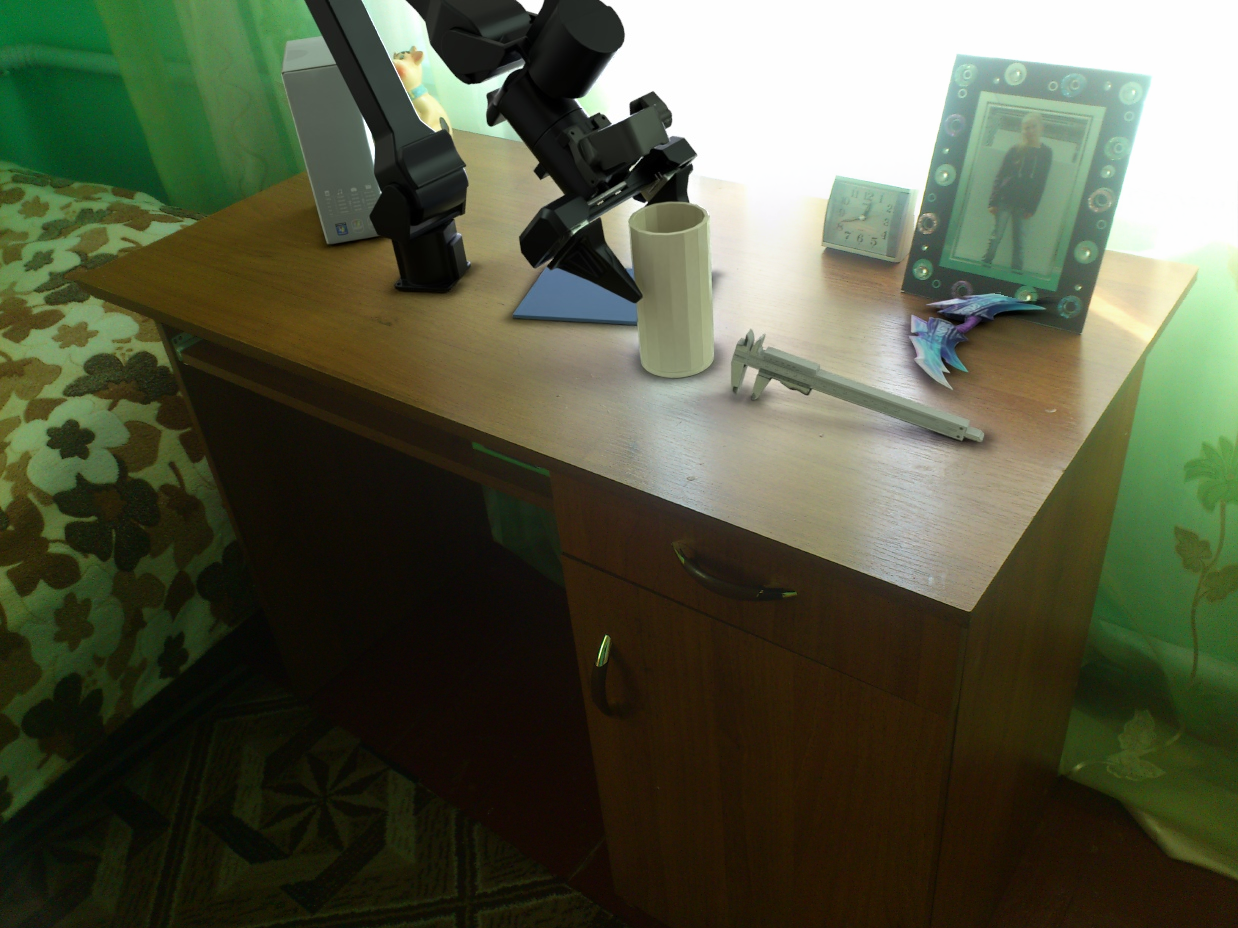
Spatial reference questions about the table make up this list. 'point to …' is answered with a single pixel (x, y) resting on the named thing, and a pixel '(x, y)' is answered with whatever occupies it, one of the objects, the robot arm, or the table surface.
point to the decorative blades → (955, 329)
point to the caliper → (837, 388)
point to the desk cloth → (574, 301)
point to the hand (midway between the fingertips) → (671, 278)
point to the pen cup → (673, 287)
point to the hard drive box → (331, 140)
